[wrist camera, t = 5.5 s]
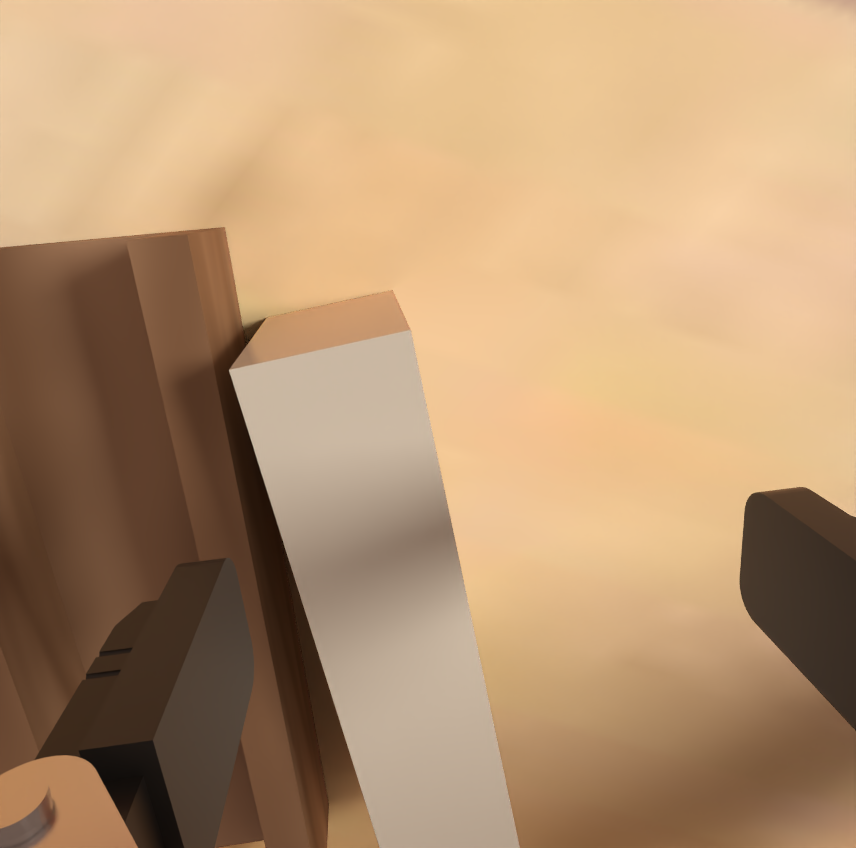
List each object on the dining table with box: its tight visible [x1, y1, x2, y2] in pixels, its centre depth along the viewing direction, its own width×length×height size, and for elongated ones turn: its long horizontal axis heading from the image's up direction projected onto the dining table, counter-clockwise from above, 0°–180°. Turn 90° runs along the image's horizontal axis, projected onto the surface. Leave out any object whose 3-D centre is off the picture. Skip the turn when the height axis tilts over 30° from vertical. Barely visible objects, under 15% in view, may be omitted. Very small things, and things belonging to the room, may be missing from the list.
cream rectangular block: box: [229, 290, 520, 848], centre depth 18 cm, size 4×16×6 cm, turn 11°
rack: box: [0, 227, 329, 848], centre depth 18 cm, size 14×20×4 cm
